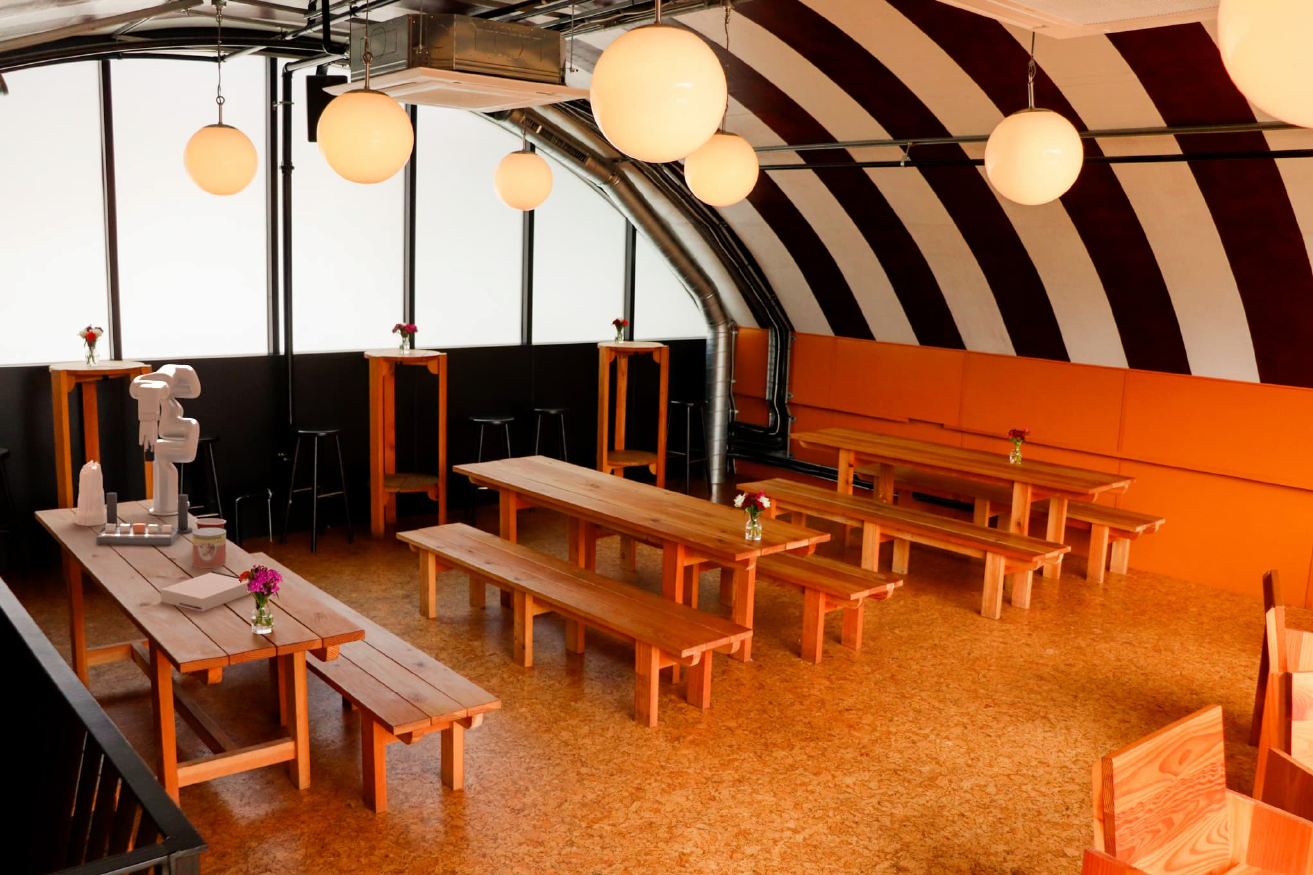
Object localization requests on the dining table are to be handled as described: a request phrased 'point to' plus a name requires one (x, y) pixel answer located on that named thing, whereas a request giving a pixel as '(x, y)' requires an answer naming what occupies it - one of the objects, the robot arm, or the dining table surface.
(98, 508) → the white ridged tapered column
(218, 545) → the canned food
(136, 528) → the block
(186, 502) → the post
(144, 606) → the dining table surface
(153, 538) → the breaker panel
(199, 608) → the disc drive
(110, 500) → the knob
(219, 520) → the plastic cup
